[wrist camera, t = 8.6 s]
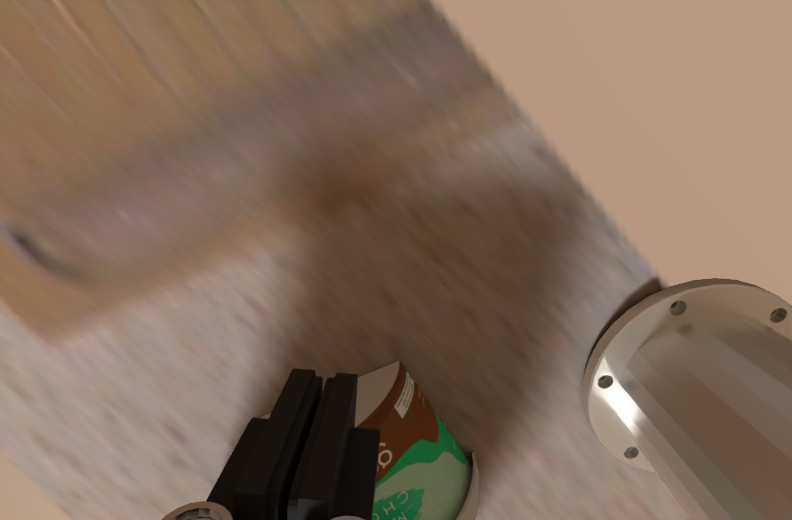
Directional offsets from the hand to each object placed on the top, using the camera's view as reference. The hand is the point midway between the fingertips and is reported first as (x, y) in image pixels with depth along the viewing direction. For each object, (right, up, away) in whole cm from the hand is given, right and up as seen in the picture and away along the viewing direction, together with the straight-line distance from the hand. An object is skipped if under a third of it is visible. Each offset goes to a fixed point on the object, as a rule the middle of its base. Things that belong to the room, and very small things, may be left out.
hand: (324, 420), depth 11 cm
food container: (-2, -4, +12) cm, 13 cm away
